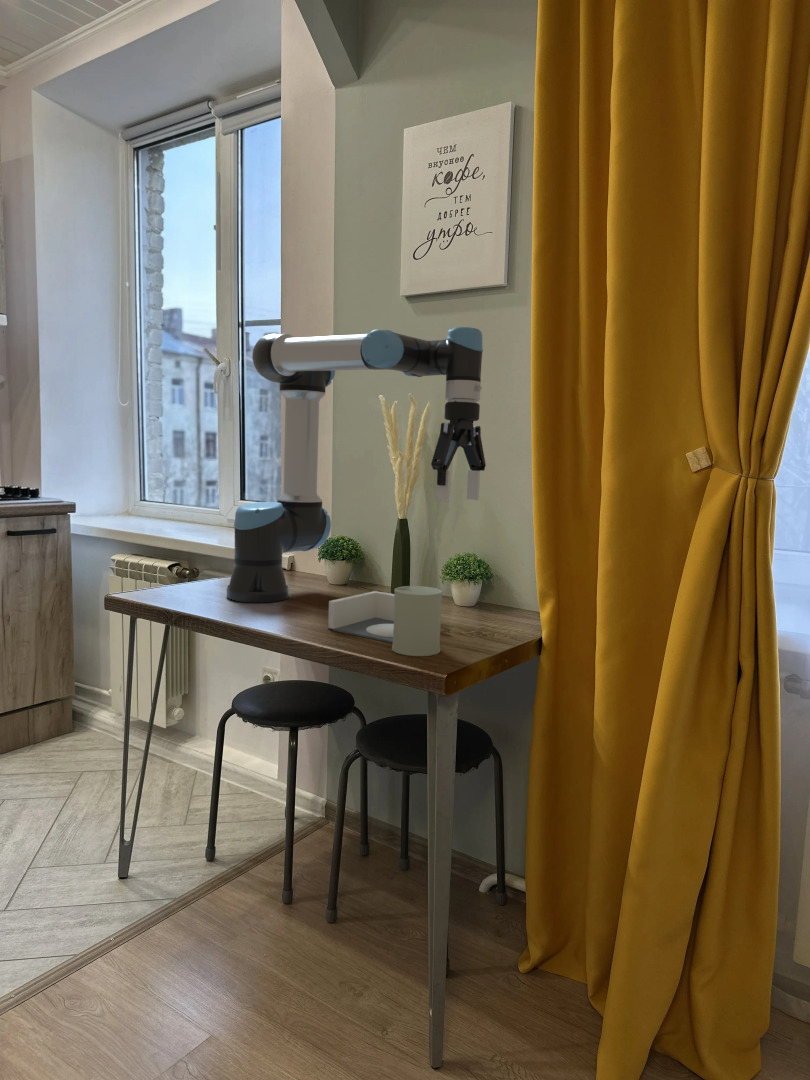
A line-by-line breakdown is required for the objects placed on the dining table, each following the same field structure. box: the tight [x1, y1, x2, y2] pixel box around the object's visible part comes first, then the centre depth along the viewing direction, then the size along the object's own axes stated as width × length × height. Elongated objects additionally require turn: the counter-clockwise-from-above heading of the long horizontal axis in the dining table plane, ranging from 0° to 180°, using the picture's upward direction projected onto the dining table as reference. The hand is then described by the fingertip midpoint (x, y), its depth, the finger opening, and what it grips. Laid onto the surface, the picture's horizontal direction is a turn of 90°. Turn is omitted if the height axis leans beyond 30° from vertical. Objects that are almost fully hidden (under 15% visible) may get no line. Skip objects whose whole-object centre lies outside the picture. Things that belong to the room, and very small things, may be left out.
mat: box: [327, 618, 394, 644], centre depth 156 cm, size 17×16×1 cm
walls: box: [327, 590, 395, 631], centre depth 155 cm, size 17×16×6 cm
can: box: [391, 585, 443, 657], centre depth 140 cm, size 9×9×12 cm
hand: (458, 500), depth 162 cm, fingers open, 13 cm apart
